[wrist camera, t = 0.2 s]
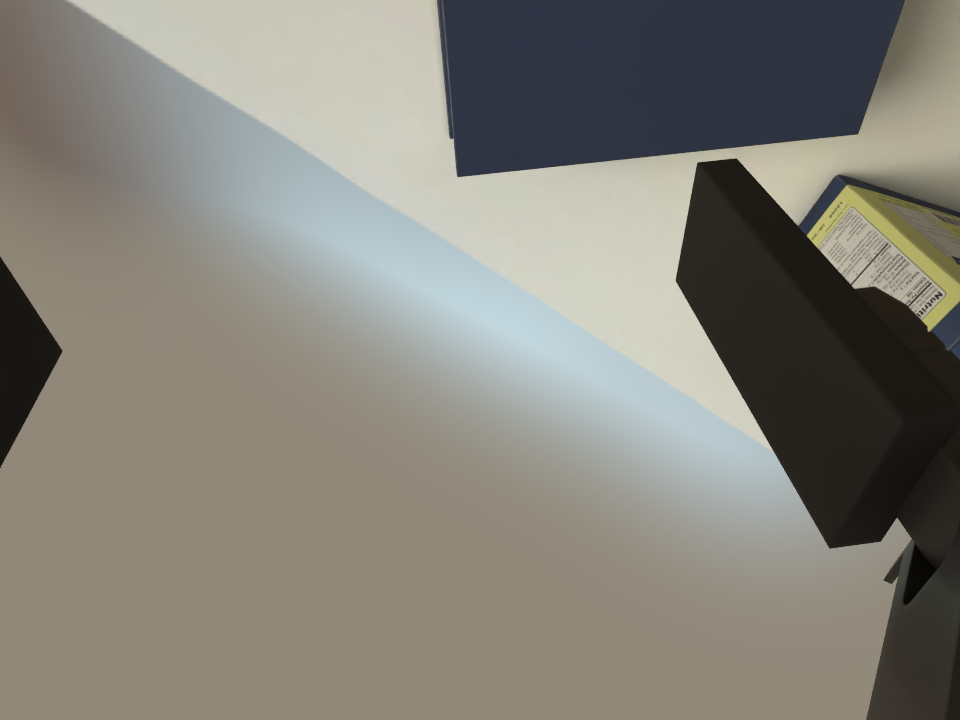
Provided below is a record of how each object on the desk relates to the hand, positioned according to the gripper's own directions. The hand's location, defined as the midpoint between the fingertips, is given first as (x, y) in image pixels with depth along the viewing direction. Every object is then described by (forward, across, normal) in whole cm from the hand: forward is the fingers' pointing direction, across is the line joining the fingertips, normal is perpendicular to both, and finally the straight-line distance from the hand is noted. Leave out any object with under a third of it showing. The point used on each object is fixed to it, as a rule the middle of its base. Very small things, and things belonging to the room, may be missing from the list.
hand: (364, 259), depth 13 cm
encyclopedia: (+28, +15, -2) cm, 32 cm away
